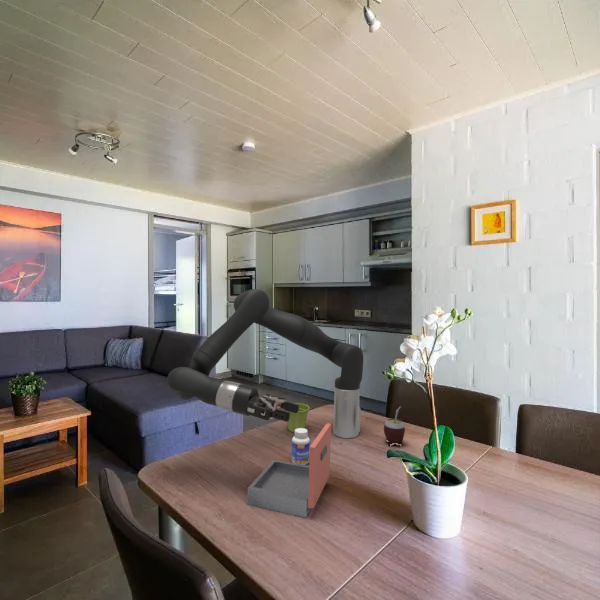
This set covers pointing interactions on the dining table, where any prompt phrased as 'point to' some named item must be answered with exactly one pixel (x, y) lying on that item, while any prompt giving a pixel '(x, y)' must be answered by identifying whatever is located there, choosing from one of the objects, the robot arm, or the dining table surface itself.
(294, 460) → the pill bottle
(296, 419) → the plant pot
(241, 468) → the dining table surface
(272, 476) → the grey square tray
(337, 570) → the dining table surface
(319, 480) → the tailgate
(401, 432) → the mate gourd
